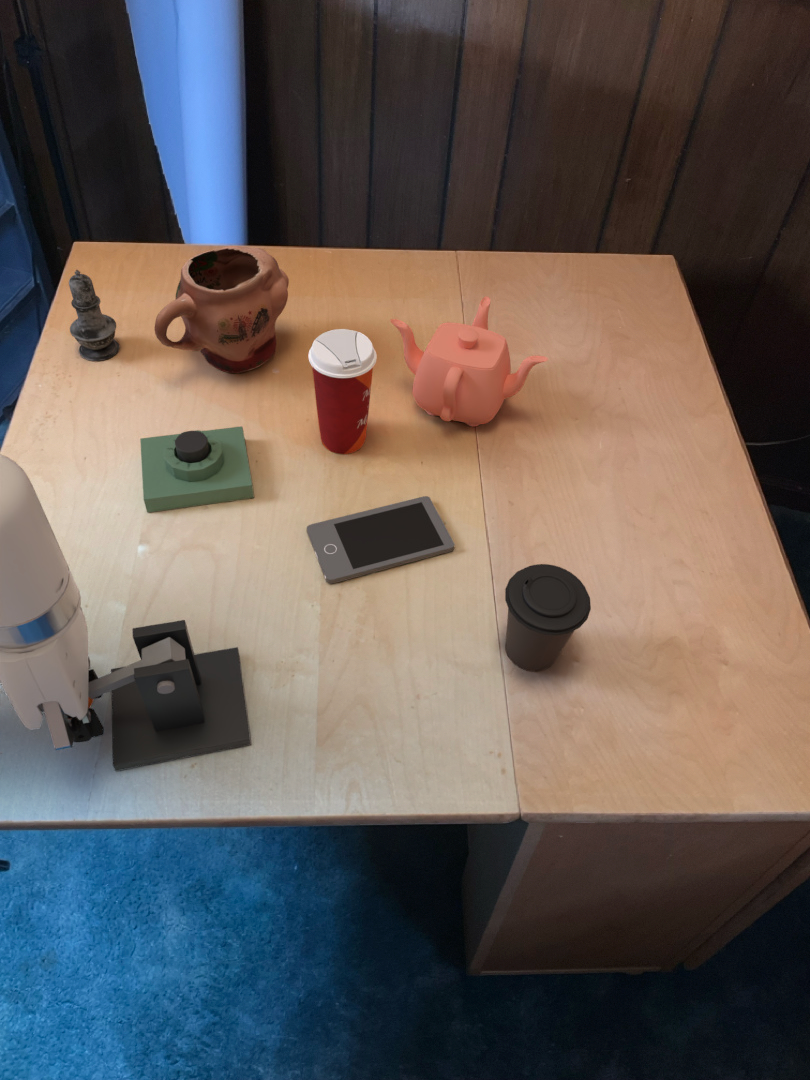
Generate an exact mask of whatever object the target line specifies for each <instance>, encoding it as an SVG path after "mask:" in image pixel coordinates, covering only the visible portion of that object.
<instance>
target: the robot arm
mask: <svg viewBox="0 0 810 1080" xmlns="http://www.w3.org/2000/svg"><path fill="white" fill-rule="evenodd" d="M91 666H92V665H91V659H90V656H89V630H88V623H87V620H86V617H85V614H84V610H83V609H82V596H81V593H80V589H79V587H78V585H77V583H76V581H75V578H74V576H73V574H72V571H71V569H70V567H69V565H68V562H67V560H66V558H65V554H64V552H63V550H62V548H61V546H60V544H59V542H58V539H57V537H56V535H55V532H54V530H53V528H52V525H51V524H50V522H49V519H48V517H47V515H46V513H45V510H44V507H43V505H42V503H41V501H40V499H39V497H38V494H37V492H36V490H35V487H34V485H33V483H32V481H31V480H30V478H29V476H28V474H27V473H26V471H25V469H24V468H23V467H22V466H21V465H19V464H18V463H17V461H14V460H13V459H12V458H10V457H8V456H6V455H4V454H1V453H0V683H1V686H2V688H3V690H4V693H5V694H6V696H7V698H8V700H9V702H10V704H11V706H12V707H13V709H14V711H15V713H16V715H17V717H18V718H19V719H20V722H21V723H22V724H23V726H24V727H25V728H26V729H28V730H30V731H31V730H38V729H39V730H40V729H41V727H42V723H43V720H44V717H45V720H46V723H47V727H48V730H49V734H50V737H51V741H52V745H53V749H54V751H56V752H57V751H62V750H68V749H73V747H74V743H85V742H89V741H91V740H92V739H93V738H96V737H101V736H104V734H105V728H104V726H103V723H102V722H101V720H100V717H99V716H98V714H97V712H96V710H95V708H92V707H90V708H88V683H89V682H91V681H93V680H96V679H98V678H99V677H98V675H97V672H96V671H95V669H94V668H92V667H91ZM91 668H92V669H91ZM103 696H104V694H103V695H100V696H98V697H96V698H94V699H93V700H97V699H101V698H102V697H103Z"/></svg>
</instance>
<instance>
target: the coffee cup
mask: <svg viewBox="0 0 810 1080" xmlns="http://www.w3.org/2000/svg"><path fill="white" fill-rule="evenodd" d="M504 590H505V591H504V593H505V594H504V600H505V603H506V606H507V620H506V630H505V631H506V632H505V652H506V655H507V657H508V659H509V660H510V661H511V663H513V664H514V665H515V666H516V667H518V668H519V669H522V670H524V671H527V672H534V673H535V672H536V673H537V672H542V671H545V670H547V669H549V668H551V667H552V666H553V664H554V663H555V662H556V660H557V659H558V657H559V655H561V652H562V651H563V650H564V648H565V646H566V645H567V644H568V642H569V640H570V639H571V637H572V636H573V634H574V632H575V631H576V630H578V629H580V628H581V627H582V626H583V625H584V624H585V623H586V622H587V620H588V618H589V615H590V612H591V609H592V606H591V597H590V595H589V593H588V591H587V588H586V586H585V585H584V583H583V582H582V581H581V580H580V579H579V577H578V576H576V575H575V574H574V573H572V572H571V571H569V570H567V569H566V568H563V567H561V566H557V565H555V564H554V565H553V564H547V563H539V564H532V565H528V566H525V567H524V568H521V569H520V570H518V571H516V572H515V573H514V574H513V575H512V576H511V577H510V578H509V580H508V582H507V584H506V587H505V589H504Z"/></svg>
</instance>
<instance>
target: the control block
mask: <svg viewBox="0 0 810 1080" xmlns="http://www.w3.org/2000/svg"><path fill="white" fill-rule="evenodd" d="M195 431H199V432H201V433H203V434H204V435H205V436H206V437H207V440H208V446H209V454H208V456H207V457H206V458H205V459H204V460H202V461H200V462H197V463H186V462H184V461H182V460H180V459H179V457H178V455H177V451H176V446H175V440H176V438H177V437H178V436H179V435H180V434H182V433H184V432H185V431H182V432H181V433H175V434H167V435H165V434H164V435H157V436H150V437H149V436H148V437H141V438H140V441H139V442H140V456H141V457H140V459H141V475H142V479H141V480H142V495H143V496H142V497H143V502H144V506H145V510H146V512H147V513H154V512H155V513H156V512H162V511H167V510H175V509H183V508H190V507H198V506H206V505H212V504H213V505H214V504H219V503H227V502H234V501H235V502H236V501H241V500H249V499H254V498H255V495H254V486H253V480H252V475H251V469H250V463H249V458H248V457H249V456H248V450H247V445H246V439H245V433H244V427H243V426H234V427H233V426H232V427H225V428H215V429H209V430H199V429H198V430H195Z"/></svg>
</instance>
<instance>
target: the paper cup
mask: <svg viewBox="0 0 810 1080" xmlns="http://www.w3.org/2000/svg"><path fill="white" fill-rule="evenodd" d="M377 358H378V357H377V352H376V349H375V348H374V345H373V343H372V341H371V339H370V338H369V337H368V336H367V335H366V334H364V333H362V332H360V331H357V330H354V329H353V330H352V329H348V328H335V329H331V330H328V331H325V332H323V333H321V334H319V335H318V336H317V337H316V338H314V340H313V342H312V345H311V347H310V348H309V351H308V362H309V364H310V365H311V369H312V378H313V386H314V397H315V404H316V413H317V422H318V431H319V437H320V442H321V444H322V446H323V447H324V448H325V449H326V450H328V451H329V452H331V453H334V454H338V455H348V454H352V453H355V452H357V451H359V450H360V449H361V448H362V447H363V446H364V445H365V442H366V438H367V429H368V421H369V414H370V413H369V412H370V403H371V402H370V401H371V394H372V393H371V391H372V382H373V373H374V366H375V365H376V363H377V360H378V359H377Z"/></svg>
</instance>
